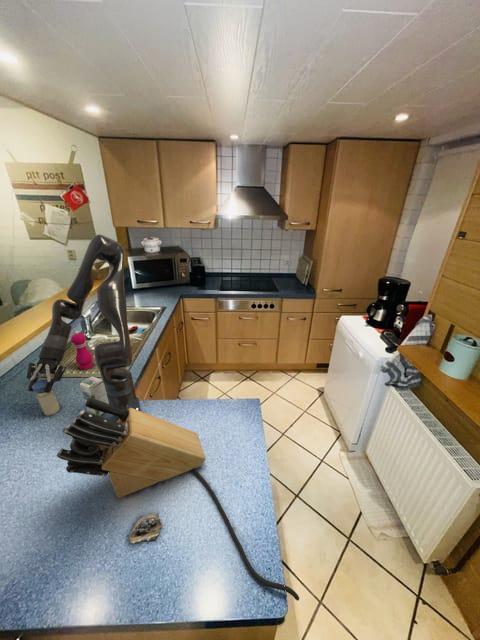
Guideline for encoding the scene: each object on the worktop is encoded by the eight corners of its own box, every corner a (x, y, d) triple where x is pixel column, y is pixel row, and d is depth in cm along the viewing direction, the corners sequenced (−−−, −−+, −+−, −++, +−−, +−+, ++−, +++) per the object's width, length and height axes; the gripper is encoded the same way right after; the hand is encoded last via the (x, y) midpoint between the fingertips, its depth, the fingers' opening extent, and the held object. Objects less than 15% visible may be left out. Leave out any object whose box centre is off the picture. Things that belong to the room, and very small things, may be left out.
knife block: (84, 476, 76) (53, 397, 63) (197, 438, 89) (191, 366, 76) (78, 514, 67) (41, 432, 53) (206, 466, 79) (201, 389, 66)
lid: (36, 384, 96) (34, 380, 95) (53, 381, 98) (52, 377, 97) (31, 394, 91) (29, 390, 91) (49, 390, 93) (47, 386, 92)
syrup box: (87, 413, 98) (78, 384, 92) (100, 403, 103) (92, 375, 97) (98, 418, 96) (89, 388, 90) (110, 407, 101) (102, 378, 95)
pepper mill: (87, 371, 123) (76, 335, 114) (74, 369, 124) (63, 333, 116) (97, 363, 129) (88, 328, 121) (85, 361, 130) (75, 327, 122)
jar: (62, 408, 101) (54, 387, 96) (49, 417, 96) (40, 395, 92) (54, 404, 103) (46, 383, 98) (40, 412, 98) (31, 391, 94)
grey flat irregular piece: (165, 533, 63) (164, 529, 62) (132, 555, 59) (130, 551, 58) (157, 508, 68) (156, 504, 67) (126, 527, 64) (125, 523, 63)
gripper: (77, 351, 102) (63, 394, 96) (45, 348, 103) (29, 391, 97) (64, 346, 95) (48, 393, 89) (29, 344, 96) (11, 389, 90)
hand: (38, 391), depth 93 cm, fingers closed on lid, 5 cm apart
